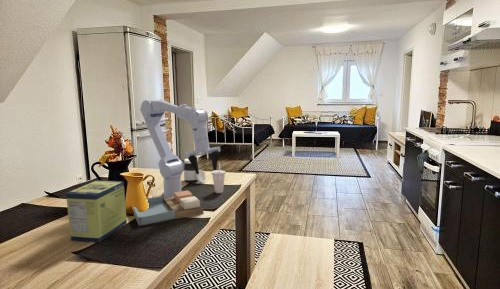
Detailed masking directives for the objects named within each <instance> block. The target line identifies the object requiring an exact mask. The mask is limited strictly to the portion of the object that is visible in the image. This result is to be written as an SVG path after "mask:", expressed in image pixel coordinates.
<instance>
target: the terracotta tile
mask: <svg viewBox="0 0 500 289" xmlns="http://www.w3.org/2000/svg"><path fill="white" fill-rule="evenodd" d="M193 196H194V195H193V193H192V192H191V191H190V190H181V192H174V198H175V199H176V201H177V202H180V199H181V198H187V197H193Z"/></svg>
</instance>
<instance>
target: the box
mask: <svg viewBox="0 0 500 289" xmlns="http://www.w3.org/2000/svg"><path fill="white" fill-rule="evenodd" d="M163 198H164V196H163V195H161V196H154V197H147V198H146V199H148V203H149V208H148V210H146V211H144V212H139V211H138V209H137V207H133V211H134V214H133V216H134V218H135V220H136V222H137V224H138V225H137V226H138V227H141V226H146V225H151V224H156V223H163V222H167V221H173V220H176V216H175V210H173V211H170V210H169V209H168V207H167V206H166V205H165V203H164V200H163Z"/></svg>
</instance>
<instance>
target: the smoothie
mask: <svg viewBox="0 0 500 289" xmlns="http://www.w3.org/2000/svg"><path fill="white" fill-rule="evenodd" d="M211 175H212V180H213V187H214V192H215V193H216V194H222V193H224V187H225V186H224V185H225V175H226V170H223V169H221V162H218V169H217V170H212V171H211Z"/></svg>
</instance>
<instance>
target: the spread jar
mask: <svg viewBox="0 0 500 289" xmlns="http://www.w3.org/2000/svg"><path fill="white" fill-rule="evenodd" d="M183 164H184V171H183V180H184V183H187V184H193V183H195V184H196V183H198V182H199V183H200V184H203V183H205V182H206V181H207V177H206V173H205V172H204V170H203V169H199V168H200V166H199V162H198V160H197V164H198V170H199V174H196V172H195V170H194V167H193V165H192V164H191V162H190V161H189V159H188V158H185V159H184V160H183Z"/></svg>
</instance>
